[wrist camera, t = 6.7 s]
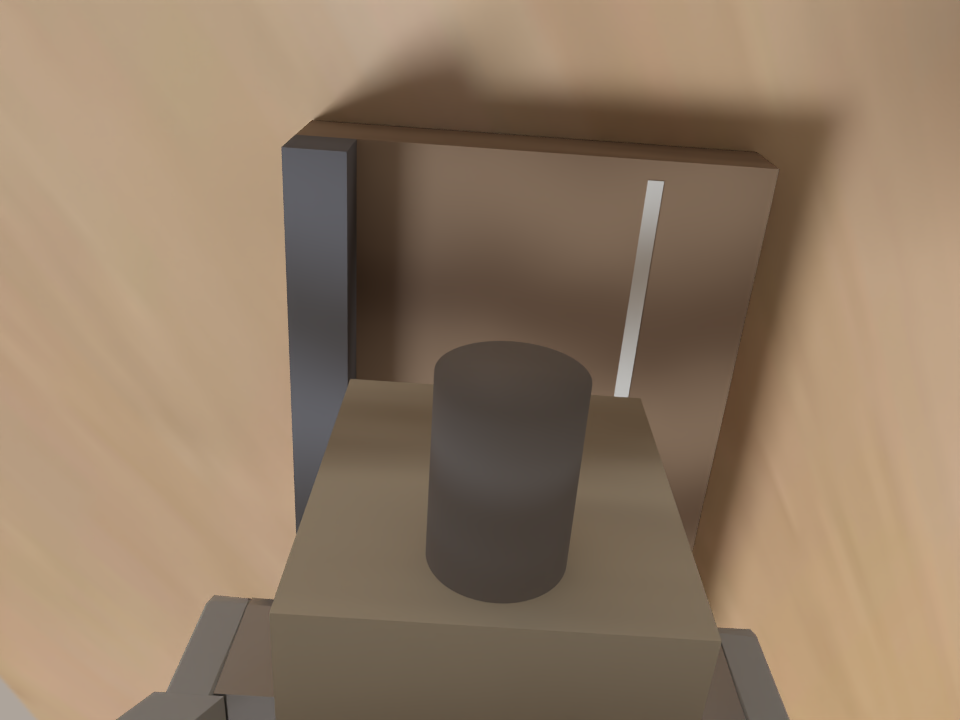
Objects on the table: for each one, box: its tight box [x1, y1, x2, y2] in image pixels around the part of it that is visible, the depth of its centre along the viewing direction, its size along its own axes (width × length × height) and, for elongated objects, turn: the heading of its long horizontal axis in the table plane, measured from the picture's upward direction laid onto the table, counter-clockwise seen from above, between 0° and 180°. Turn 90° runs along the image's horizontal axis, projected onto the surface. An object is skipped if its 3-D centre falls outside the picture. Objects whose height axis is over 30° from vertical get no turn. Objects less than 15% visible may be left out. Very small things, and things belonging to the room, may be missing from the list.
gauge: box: [269, 341, 722, 720], centre depth 11 cm, size 10×4×4 cm, turn 176°
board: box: [282, 120, 779, 551], centre depth 25 cm, size 20×12×4 cm, turn 176°
